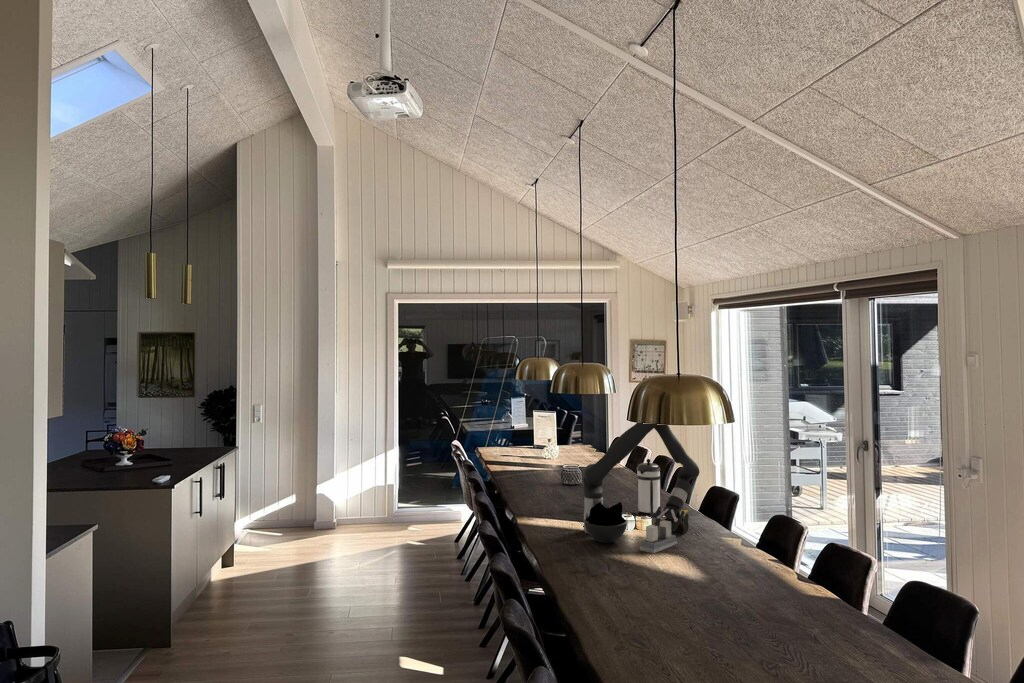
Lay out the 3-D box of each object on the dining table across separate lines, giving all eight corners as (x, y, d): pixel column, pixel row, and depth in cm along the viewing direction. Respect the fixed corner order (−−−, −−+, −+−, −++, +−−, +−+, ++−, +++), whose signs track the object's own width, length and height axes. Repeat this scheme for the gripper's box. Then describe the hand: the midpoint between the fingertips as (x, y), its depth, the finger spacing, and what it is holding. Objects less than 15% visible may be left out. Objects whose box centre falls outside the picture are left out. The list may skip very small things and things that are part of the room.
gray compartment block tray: (653, 553, 306) (653, 529, 306) (639, 550, 311) (639, 526, 311) (677, 543, 320) (677, 521, 320) (663, 541, 325) (663, 518, 325)
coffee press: (667, 516, 372) (666, 461, 372) (637, 516, 372) (637, 461, 372) (660, 509, 389) (660, 456, 389) (632, 509, 389) (632, 456, 390)
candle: (663, 532, 340) (663, 512, 341) (668, 527, 349) (668, 507, 350) (684, 535, 336) (683, 514, 336) (689, 530, 345) (688, 510, 345)
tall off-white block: (666, 542, 316) (666, 523, 317) (659, 541, 319) (659, 521, 319) (671, 540, 320) (671, 521, 320) (664, 539, 322) (664, 520, 322)
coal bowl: (577, 544, 320) (577, 504, 320) (593, 534, 337) (593, 495, 337) (619, 550, 310) (618, 508, 310) (632, 539, 328) (632, 499, 328)
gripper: (660, 492, 330) (647, 521, 322) (687, 497, 320) (674, 526, 312) (666, 502, 334) (654, 530, 325) (693, 506, 324) (680, 536, 316)
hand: (664, 528), depth 319 cm, fingers open, 8 cm apart
